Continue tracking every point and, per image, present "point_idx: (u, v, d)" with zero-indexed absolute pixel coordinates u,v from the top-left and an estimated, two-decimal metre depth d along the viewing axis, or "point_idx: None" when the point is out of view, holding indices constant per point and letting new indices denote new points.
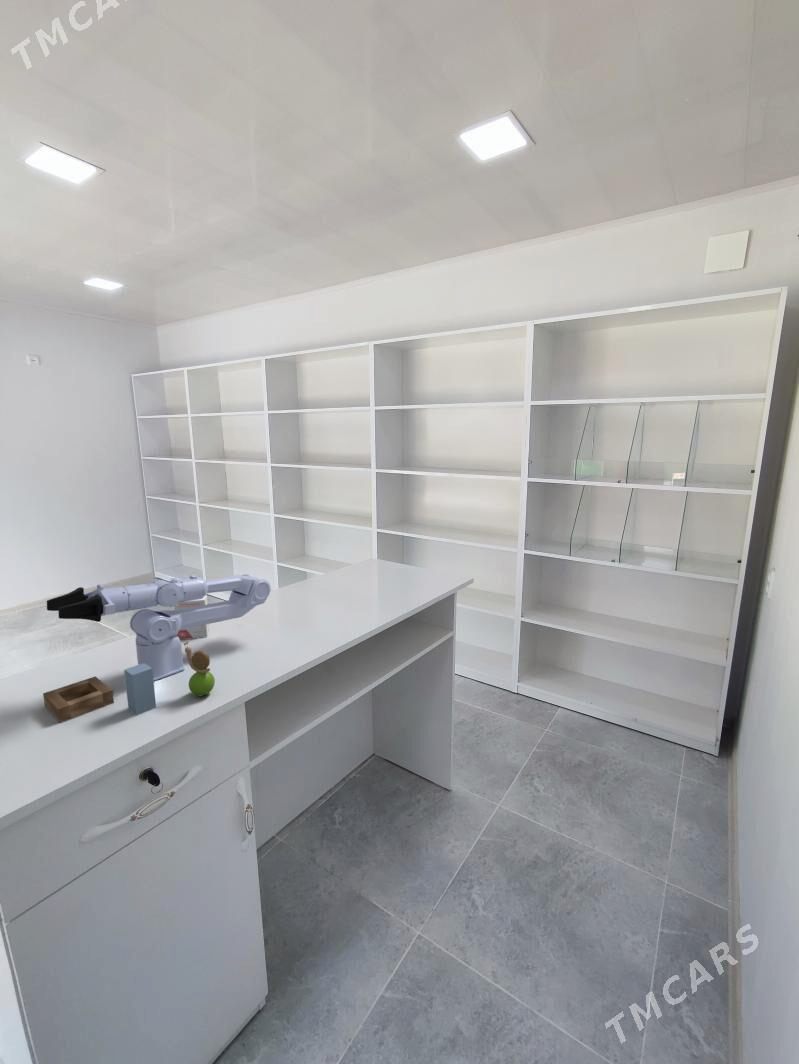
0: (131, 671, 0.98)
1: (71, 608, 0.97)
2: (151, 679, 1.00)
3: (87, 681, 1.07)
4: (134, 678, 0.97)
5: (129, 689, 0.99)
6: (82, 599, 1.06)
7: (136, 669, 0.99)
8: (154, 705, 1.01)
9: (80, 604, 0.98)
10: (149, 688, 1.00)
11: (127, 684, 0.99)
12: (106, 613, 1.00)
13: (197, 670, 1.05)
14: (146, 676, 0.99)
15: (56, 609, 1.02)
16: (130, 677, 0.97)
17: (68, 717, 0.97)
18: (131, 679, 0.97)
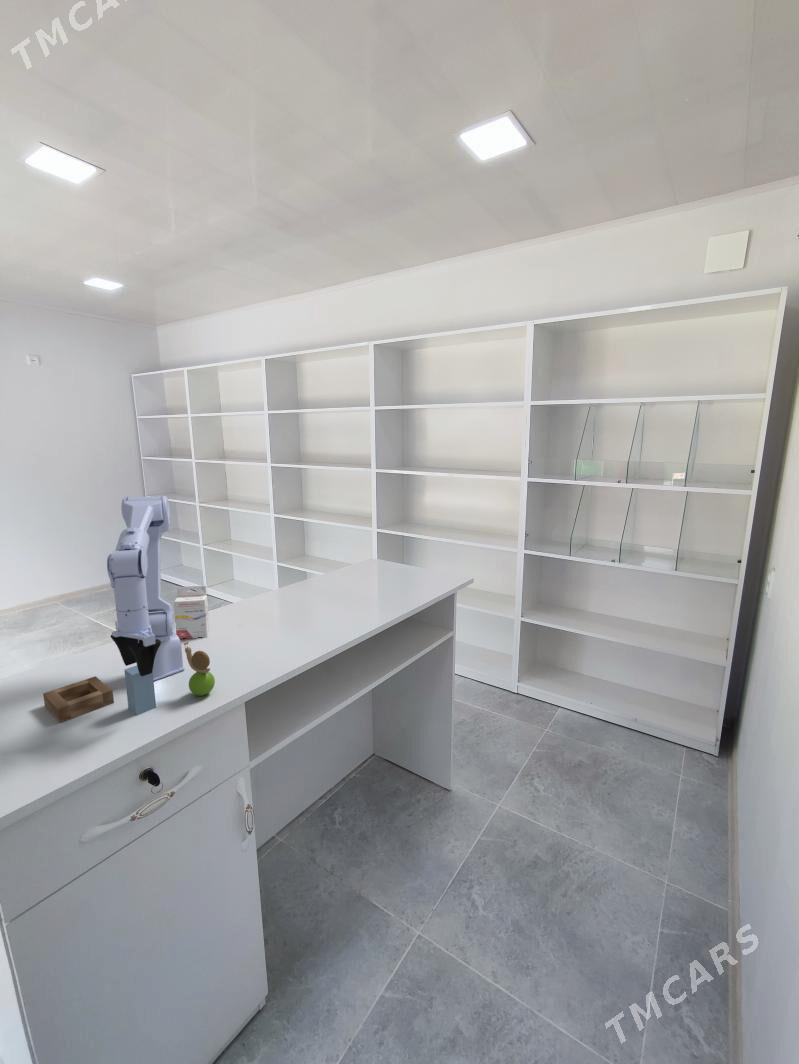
0: (131, 671, 0.98)
1: (142, 667, 0.96)
2: (151, 679, 1.00)
3: (87, 681, 1.07)
4: (134, 678, 0.97)
5: (129, 689, 0.99)
6: None
7: (136, 669, 1.00)
8: (154, 705, 1.01)
9: (139, 662, 0.95)
10: (149, 688, 1.00)
11: (127, 684, 0.99)
12: (153, 643, 0.94)
13: (197, 670, 1.05)
14: (146, 676, 0.99)
15: None
16: (130, 677, 0.98)
17: (68, 717, 0.97)
18: (131, 679, 0.97)
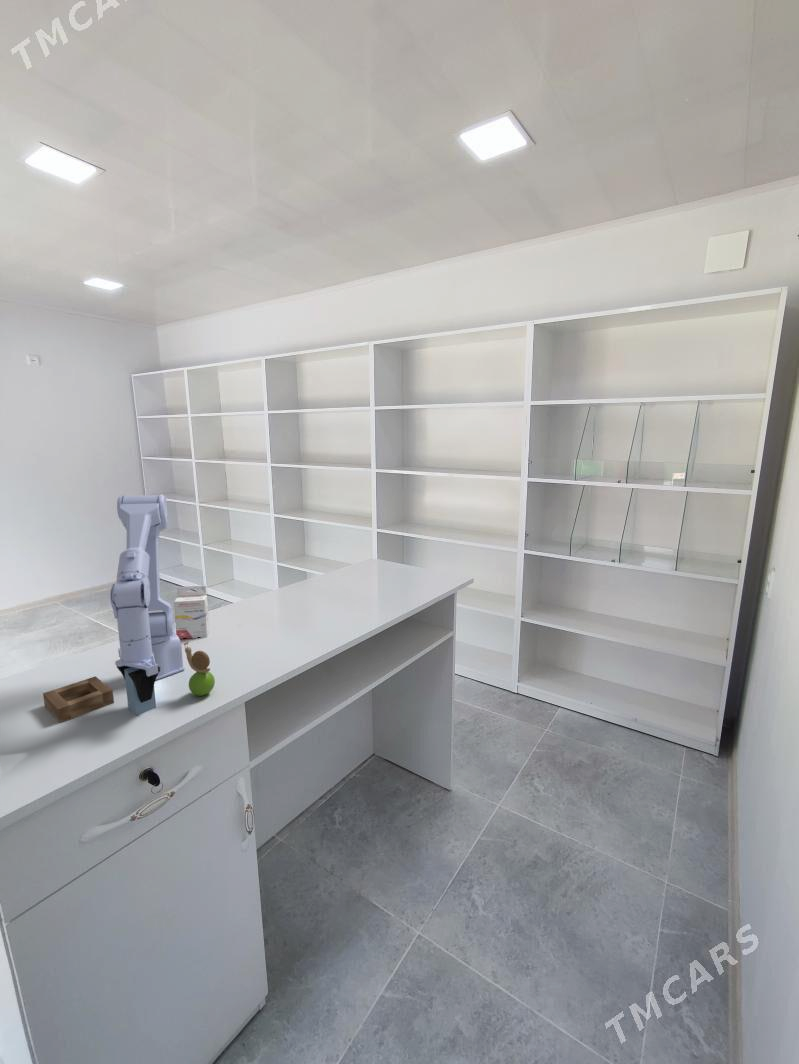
0: (131, 671, 0.98)
1: (142, 693, 0.98)
2: None
3: (87, 681, 1.07)
4: None
5: (129, 689, 0.99)
6: None
7: (136, 669, 1.00)
8: (154, 705, 1.01)
9: (139, 688, 0.97)
10: None
11: (127, 684, 0.99)
12: (156, 672, 0.95)
13: (197, 670, 1.05)
14: None
15: None
16: None
17: (68, 717, 0.97)
18: (131, 679, 0.97)
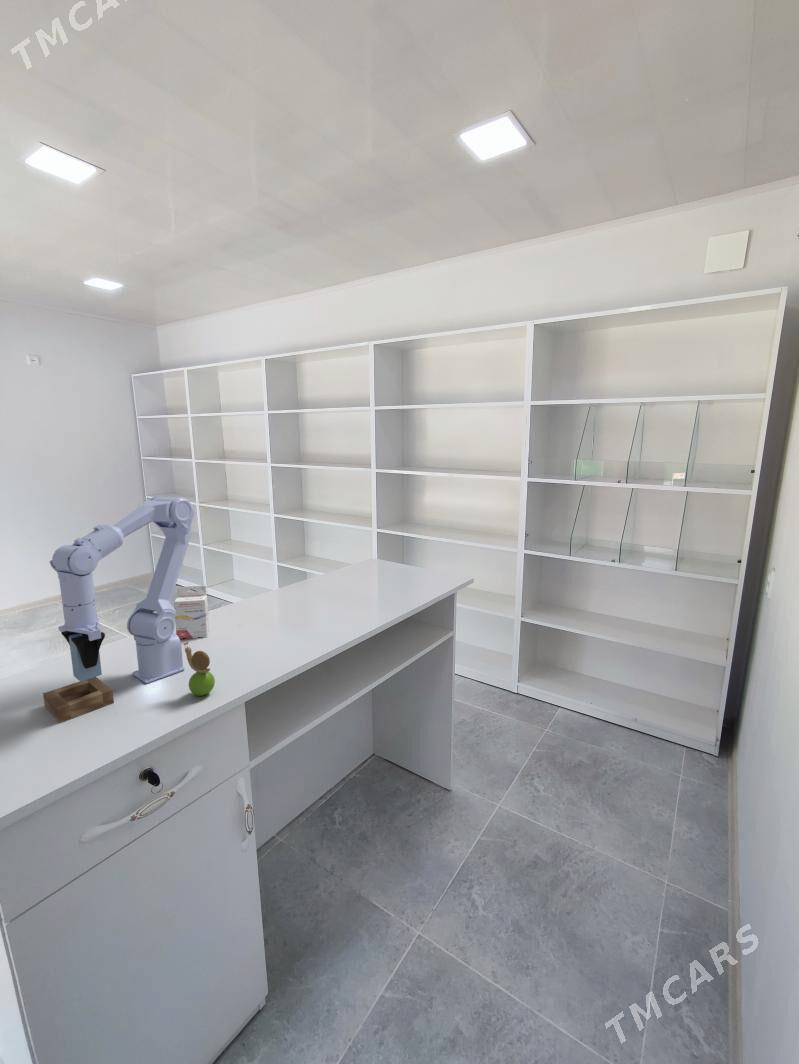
0: None
1: (86, 659, 0.98)
2: None
3: (87, 681, 1.07)
4: None
5: (73, 655, 0.99)
6: (77, 632, 1.01)
7: (80, 635, 0.99)
8: (100, 672, 1.01)
9: (82, 654, 0.97)
10: None
11: (71, 650, 0.99)
12: (99, 637, 0.95)
13: (197, 670, 1.05)
14: None
15: None
16: None
17: (68, 717, 0.97)
18: None
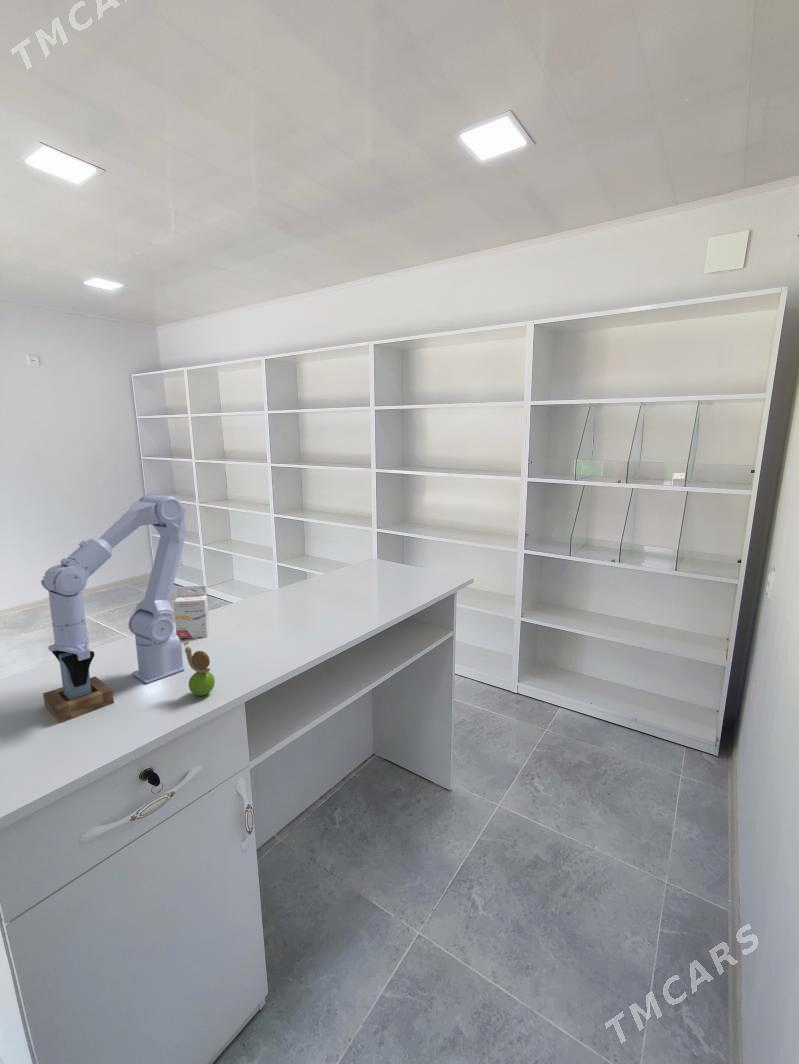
0: (65, 656, 0.99)
1: (76, 678, 0.99)
2: None
3: None
4: None
5: (63, 674, 1.00)
6: None
7: (70, 654, 1.00)
8: (89, 690, 1.02)
9: (72, 673, 0.98)
10: None
11: (61, 669, 1.00)
12: (88, 657, 0.96)
13: (197, 670, 1.05)
14: None
15: None
16: None
17: (68, 717, 0.97)
18: (64, 664, 0.98)
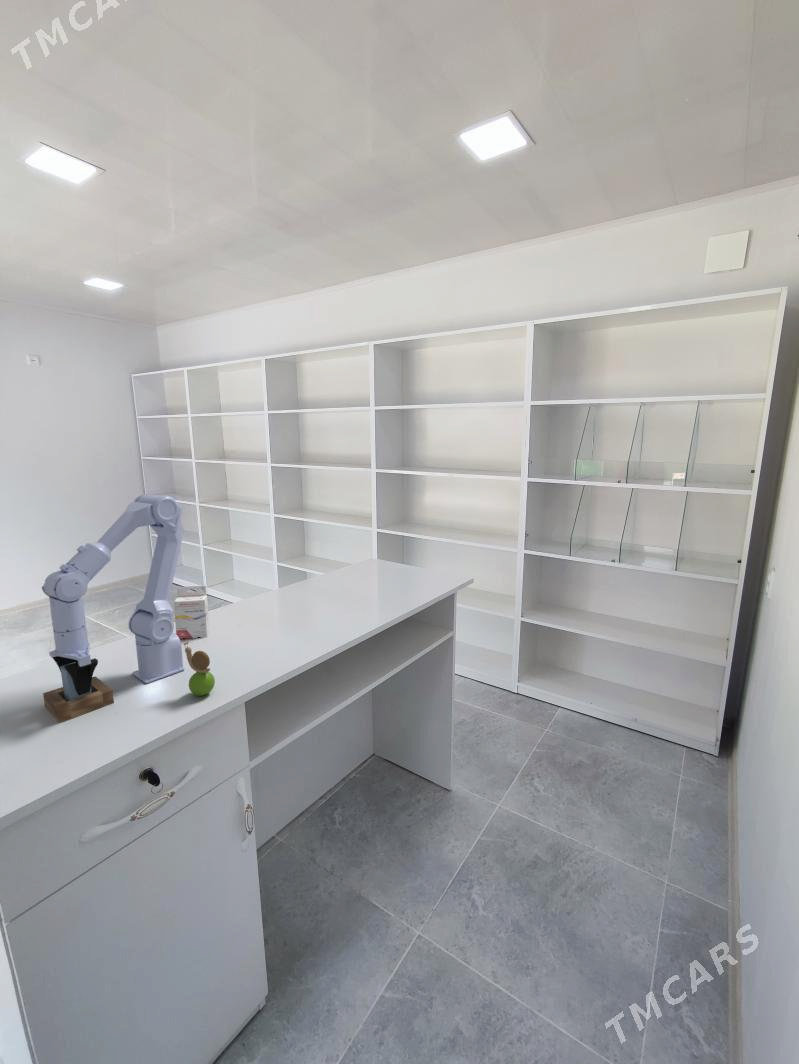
0: None
1: (79, 686, 0.98)
2: None
3: None
4: (68, 675, 0.99)
5: (65, 686, 1.00)
6: None
7: None
8: None
9: (75, 681, 0.97)
10: None
11: (63, 681, 1.01)
12: (89, 663, 0.97)
13: (197, 670, 1.05)
14: None
15: None
16: (65, 674, 0.99)
17: (68, 717, 0.97)
18: (66, 676, 0.99)
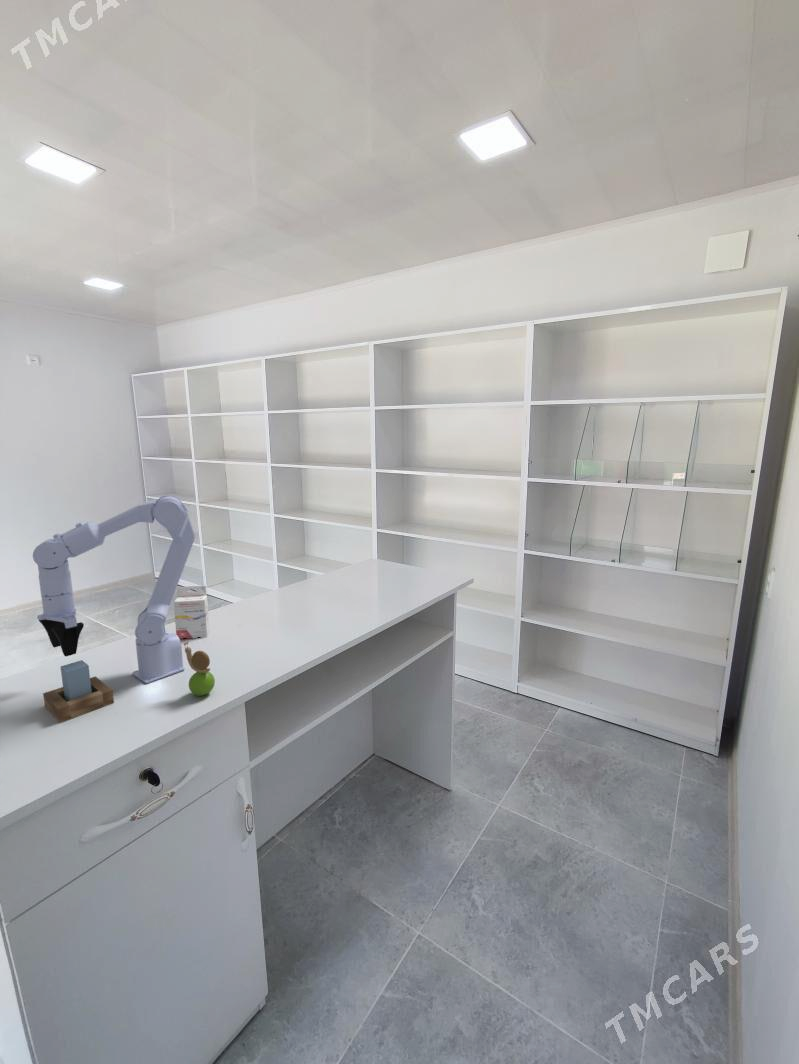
0: (67, 668, 1.00)
1: (66, 647, 1.04)
2: (87, 676, 1.01)
3: None
4: (69, 675, 0.99)
5: (65, 686, 1.00)
6: None
7: (72, 666, 1.01)
8: None
9: (62, 643, 1.03)
10: (85, 684, 1.01)
11: (63, 681, 1.01)
12: (75, 625, 1.02)
13: (197, 670, 1.05)
14: (81, 673, 1.00)
15: None
16: (65, 674, 0.99)
17: (68, 717, 0.97)
18: (66, 676, 0.99)
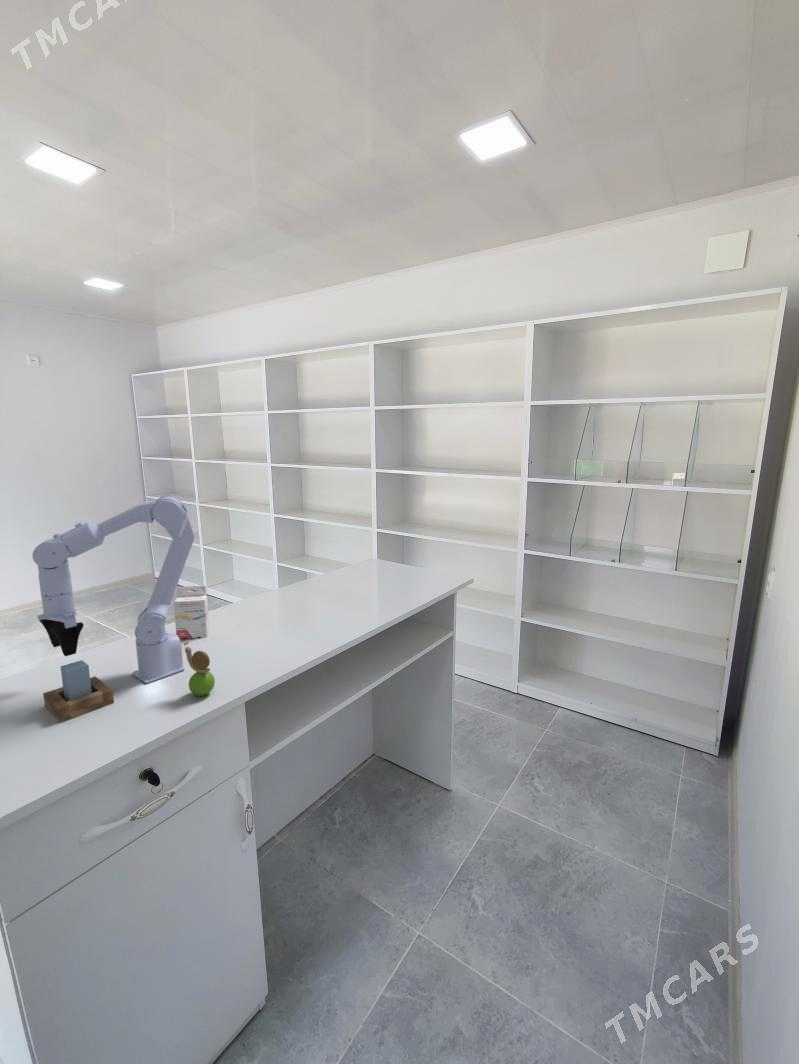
0: (67, 668, 1.00)
1: (65, 647, 1.04)
2: (87, 676, 1.01)
3: None
4: (68, 675, 0.99)
5: (65, 686, 1.00)
6: (54, 619, 1.09)
7: (72, 666, 1.01)
8: None
9: (62, 642, 1.03)
10: (85, 684, 1.01)
11: (63, 681, 1.01)
12: (75, 625, 1.03)
13: (197, 670, 1.05)
14: (81, 673, 1.00)
15: None
16: (65, 674, 0.99)
17: (68, 717, 0.97)
18: (66, 676, 0.99)
